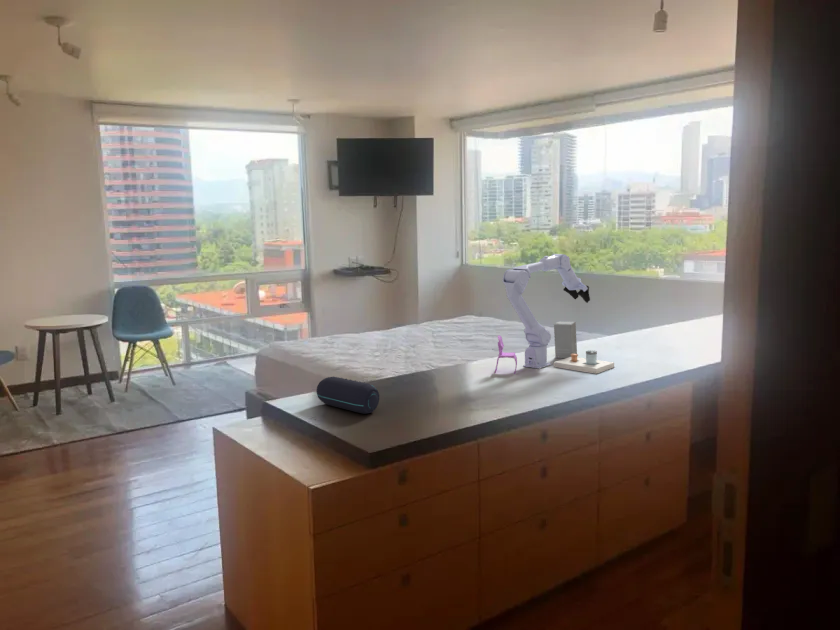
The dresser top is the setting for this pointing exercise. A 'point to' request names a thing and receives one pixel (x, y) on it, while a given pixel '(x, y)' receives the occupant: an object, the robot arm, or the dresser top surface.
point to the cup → (591, 357)
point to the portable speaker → (348, 394)
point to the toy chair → (504, 355)
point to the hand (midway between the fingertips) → (582, 299)
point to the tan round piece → (574, 357)
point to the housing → (584, 365)
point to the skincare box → (565, 339)
